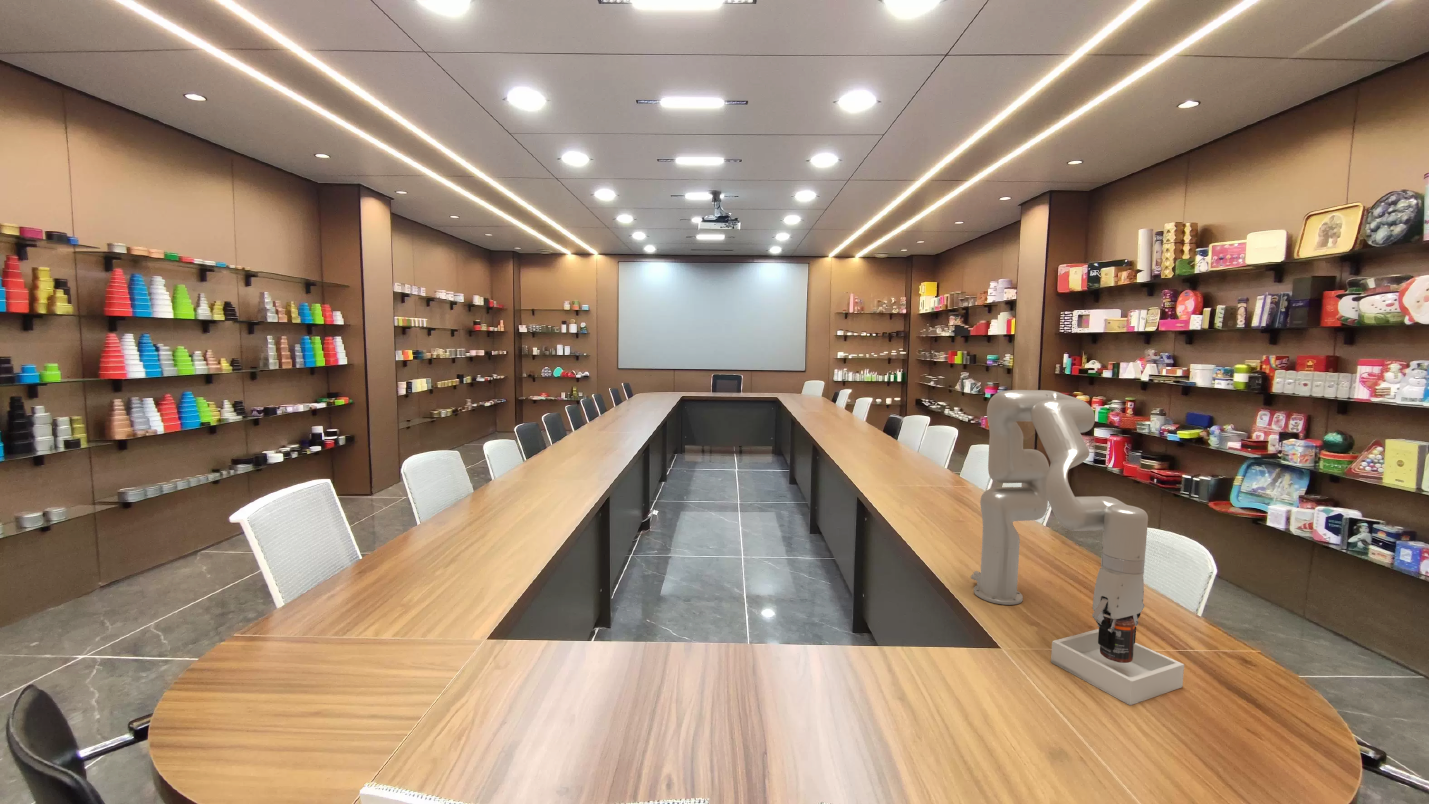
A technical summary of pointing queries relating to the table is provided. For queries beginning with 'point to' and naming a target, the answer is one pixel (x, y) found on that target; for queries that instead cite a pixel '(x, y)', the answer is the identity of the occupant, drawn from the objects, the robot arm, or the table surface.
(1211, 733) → the table surface
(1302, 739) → the table surface
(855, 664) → the table surface
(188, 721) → the table surface
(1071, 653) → the tray
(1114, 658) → the supplement bottle
